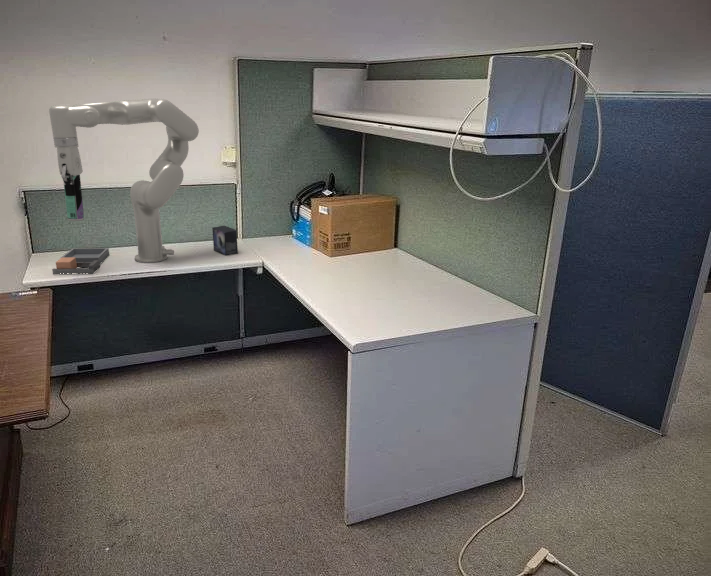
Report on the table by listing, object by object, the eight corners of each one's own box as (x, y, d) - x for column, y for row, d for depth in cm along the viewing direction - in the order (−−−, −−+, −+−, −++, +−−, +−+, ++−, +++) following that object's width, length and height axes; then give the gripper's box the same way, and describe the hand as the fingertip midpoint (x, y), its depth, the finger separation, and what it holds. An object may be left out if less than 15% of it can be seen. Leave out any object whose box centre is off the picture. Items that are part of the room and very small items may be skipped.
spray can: (86, 220, 203) (80, 165, 196) (70, 221, 199) (64, 165, 193) (81, 217, 206) (76, 163, 200) (65, 218, 203) (59, 163, 196)
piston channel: (100, 266, 214) (99, 259, 213) (93, 274, 206) (92, 266, 205) (61, 267, 212) (60, 259, 211) (53, 274, 204) (51, 266, 203)
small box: (212, 250, 240) (211, 227, 237) (225, 248, 244) (224, 225, 241) (225, 256, 233) (223, 231, 229) (238, 253, 237) (237, 229, 234)
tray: (109, 254, 229) (108, 248, 228) (99, 264, 216) (98, 257, 215) (73, 255, 227) (72, 248, 226) (61, 265, 214) (60, 257, 213)
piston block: (77, 267, 212) (75, 257, 210) (71, 272, 206) (69, 262, 204) (63, 267, 211) (61, 257, 210) (57, 272, 205) (55, 262, 204)
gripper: (69, 145, 186) (76, 198, 192) (85, 140, 202) (92, 190, 208) (45, 144, 185) (54, 198, 191) (63, 140, 201) (70, 190, 207)
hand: (73, 193), depth 200 cm, fingers closed on spray can, 5 cm apart
